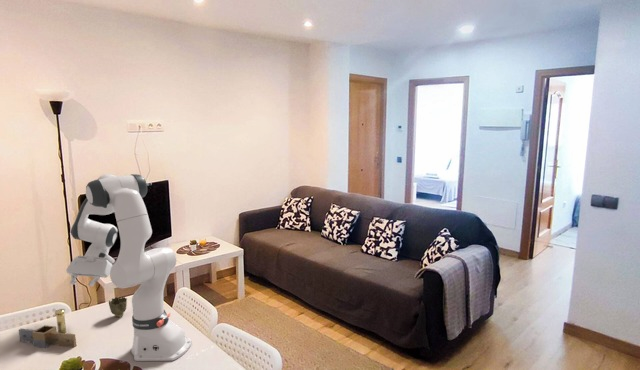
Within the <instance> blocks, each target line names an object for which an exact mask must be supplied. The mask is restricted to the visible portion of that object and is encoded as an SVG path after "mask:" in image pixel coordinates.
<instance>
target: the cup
mask: <svg viewBox="0 0 640 370" xmlns="http://www.w3.org/2000/svg"><path fill="white" fill-rule="evenodd" d="M127 300H128V298H127V297H126V296H122V297H121V296H119V297H116V296H115V297H114V298H111V300H109V301H108V306H109V310H110V312H111V313H112V314H113V315H114V317H115V318H116V319H117V318H122V317H123V316H124V314H125V312H126V310H127V306H128V305H127V303H128V302H127Z"/></svg>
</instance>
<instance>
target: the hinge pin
mask: <svg viewBox="0 0 640 370" xmlns="http://www.w3.org/2000/svg"><path fill="white" fill-rule="evenodd" d="M65 313H66V309H65V308H59V309H57V310H55V311H54V315H55V316H56V317H55V318H56V323H57V326H56V327H57V332H58V333H67V325H66V317H65Z"/></svg>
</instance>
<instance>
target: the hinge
mask: <svg viewBox="0 0 640 370" xmlns="http://www.w3.org/2000/svg"><path fill="white" fill-rule="evenodd" d="M18 333H19V341H20V342H25V343H26V342H27V343H33V347H37V348H45V349H46V348H48V347H49V346H51V345H53V346H60V347H61V346H62V347H70V348H75V347H77V340H76V339H77V338H76V334H75V333H67V332H66V333H58V329H57V326H53V325H46V324H45V325H42V326H40V327H39V328H37V329H30V328H20V329H19V328H18Z"/></svg>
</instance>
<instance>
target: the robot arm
mask: <svg viewBox="0 0 640 370" xmlns="http://www.w3.org/2000/svg"><path fill="white" fill-rule="evenodd" d="M147 193H148V185H147V181H146V178H145V177H143V175H141V174H136V173H134V174H130V175H126V174H125V175H115V174H111V173H106V174H102V175H100V176H99V177H98V178H97V179H95V180H91V181H89V182H88V183H87V184H86V185H85V196H86V198H85V199H84V200H83V202H82V203H81V206H80V208H79V210H78V213H77V215H76V218H75V220H74V222H73V224H72V225H71V227H70V235H71V237H72V238H73V239H75V240H79V241H85V242H88V243H91V244H90V245H89V246H88V248H87V251H86V252H85V254H84V255H78V256H76V257H74V258H73V259H72V261H71V262H69V265H68V266H67V268H66V269H65V270H66V273H67V274H68V275H70V276H71V278H70V279H71V280H70V281H69V284H70V285H76V284H77V280H76V278H78V277H79V276H80V277H81V276H82V277H92V280H90V281H89V282H88V283H87V284H88V285H87V286H89V287H94V286H95V284H96V283H97V282H98V281H99V280H100V279H101V278H103V279H105V278H106V279H107V277H109V278H110V281H111V283H112V284H113V285H114V286H115V287H117V288H119V289H126V288H132V287H136V286H138V288H137V289H136V290H135V292H134V293H133V295H132V298H131V307H132V308H131V309H132V317H131V321H132V322H131V323H132V327H133V338H132V339H133V341H132V347H131V350H130V351H131V354H132V355H133V360H134V361H135V362H150V361H151V362H154V361H155V362H156V361H157V362H161V361H163V362H165V361H166V362H167V361H175V360H178V359H179V358H180V357H182V356H183V355H184V354H185V353H186V352H187V351H188V350H189V349H190V348H191V346H192V344H193V342H192V338H189V337H186V335H185V331H184V329H183V328H182V327H180V326H179V325H177V324H176V323H174V322H173V321H172V320H171V319H170V317H171V312H169V313H168V314H167V312H166V310H165V306H164V305H165V304H164V291H165V286H166V283H167V281H168V279H169V275H170V274H171V272H172V271H173V270H174V269H175V267H176V265H177V256H176V253H175V251H174V250H173V249H172V248H170V247H168V246H166V247H165V246H163V247H155V248H153V249H149V250H145V246H146V243H147V242H148V240H149V239H150V238H151V237H152V234H153V229H152V225H151V222H150V218H149V214H148V210H147V207H146V204H145V202H144V199H143V198H145V197H146V195H147ZM110 214H114V216H115V219H116V224H117V226H115V225H114V224H111V223H102V222H99V221H96V220H93V219H90V218H89V215H98V216H106V215H110ZM118 233H119V234H118ZM118 235H119V239H120V248H119V253H118V256H117V258H116V260H115V259H114V257H112V256H110V255H109V252H110V250H111V248H112V247H113V246H114V245H115V243H116V241H117V239H118Z"/></svg>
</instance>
